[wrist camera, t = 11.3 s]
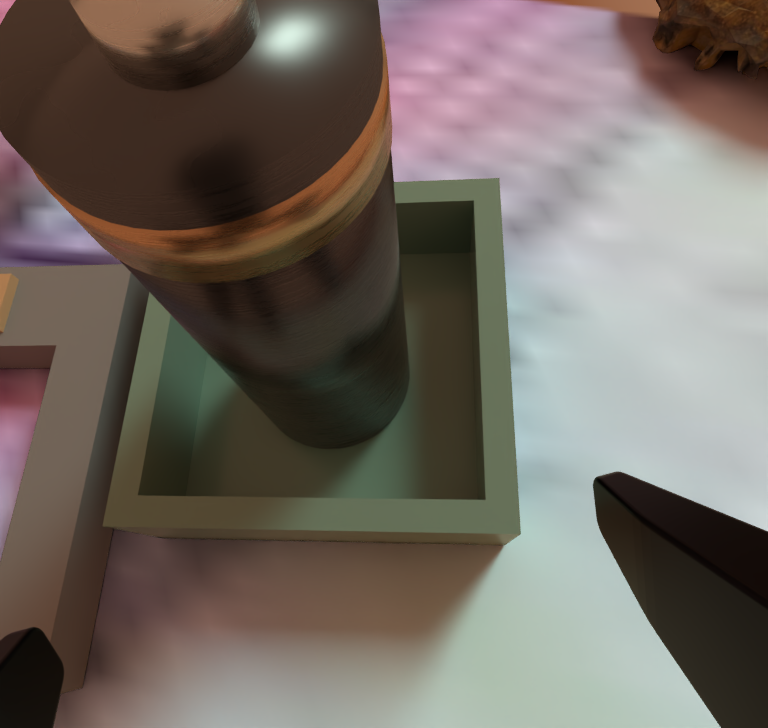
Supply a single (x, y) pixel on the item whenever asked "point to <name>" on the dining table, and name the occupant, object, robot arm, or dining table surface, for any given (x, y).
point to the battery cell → (232, 183)
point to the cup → (356, 463)
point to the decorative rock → (716, 30)
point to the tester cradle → (67, 444)
